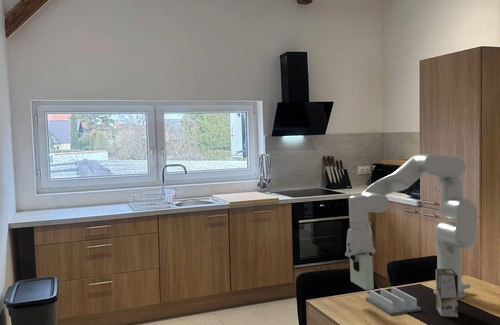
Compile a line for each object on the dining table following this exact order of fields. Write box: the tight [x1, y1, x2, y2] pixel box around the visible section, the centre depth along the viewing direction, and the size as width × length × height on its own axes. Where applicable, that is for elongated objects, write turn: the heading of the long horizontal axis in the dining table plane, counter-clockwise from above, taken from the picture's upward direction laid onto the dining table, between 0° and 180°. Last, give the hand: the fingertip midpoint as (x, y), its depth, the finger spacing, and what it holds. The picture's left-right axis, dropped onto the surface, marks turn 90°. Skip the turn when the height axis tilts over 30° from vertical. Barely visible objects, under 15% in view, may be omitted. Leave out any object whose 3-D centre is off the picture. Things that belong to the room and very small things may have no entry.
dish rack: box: [365, 286, 422, 316], centre depth 182 cm, size 14×18×4 cm
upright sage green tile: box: [349, 252, 375, 291], centre depth 181 cm, size 4×12×13 cm, turn 17°
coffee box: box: [435, 268, 459, 318], centre depth 172 cm, size 9×6×16 cm
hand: (361, 269), depth 181 cm, fingers closed on upright sage green tile, 3 cm apart
